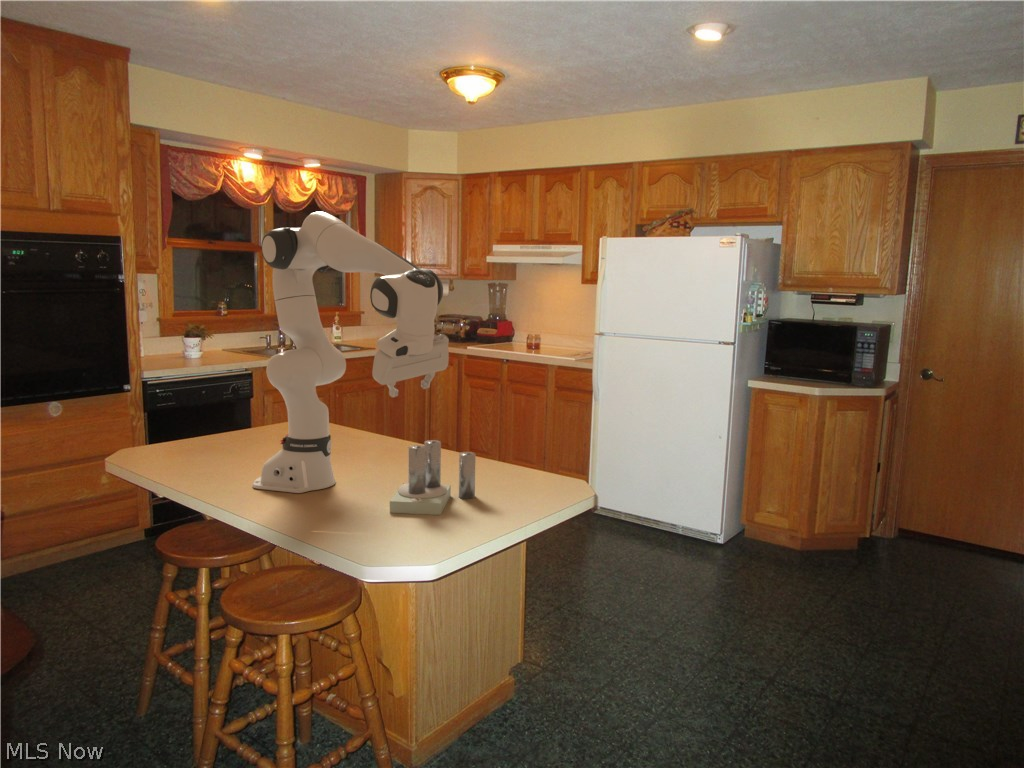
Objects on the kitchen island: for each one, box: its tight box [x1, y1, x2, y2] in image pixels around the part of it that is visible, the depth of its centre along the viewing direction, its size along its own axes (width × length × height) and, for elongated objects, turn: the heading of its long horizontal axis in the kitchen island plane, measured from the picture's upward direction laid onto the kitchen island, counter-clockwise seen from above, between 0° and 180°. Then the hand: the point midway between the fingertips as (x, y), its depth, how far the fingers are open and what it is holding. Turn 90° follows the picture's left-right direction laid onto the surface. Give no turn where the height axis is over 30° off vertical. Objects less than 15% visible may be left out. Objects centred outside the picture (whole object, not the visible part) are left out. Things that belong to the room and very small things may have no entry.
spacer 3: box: [458, 451, 477, 500], centre depth 193 cm, size 4×4×12 cm
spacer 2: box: [423, 439, 442, 488], centre depth 191 cm, size 4×4×12 cm
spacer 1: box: [408, 444, 426, 495], centre depth 185 cm, size 4×4×12 cm
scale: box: [389, 482, 452, 516], centre depth 187 cm, size 13×16×4 cm
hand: (409, 391), depth 173 cm, fingers open, 8 cm apart
